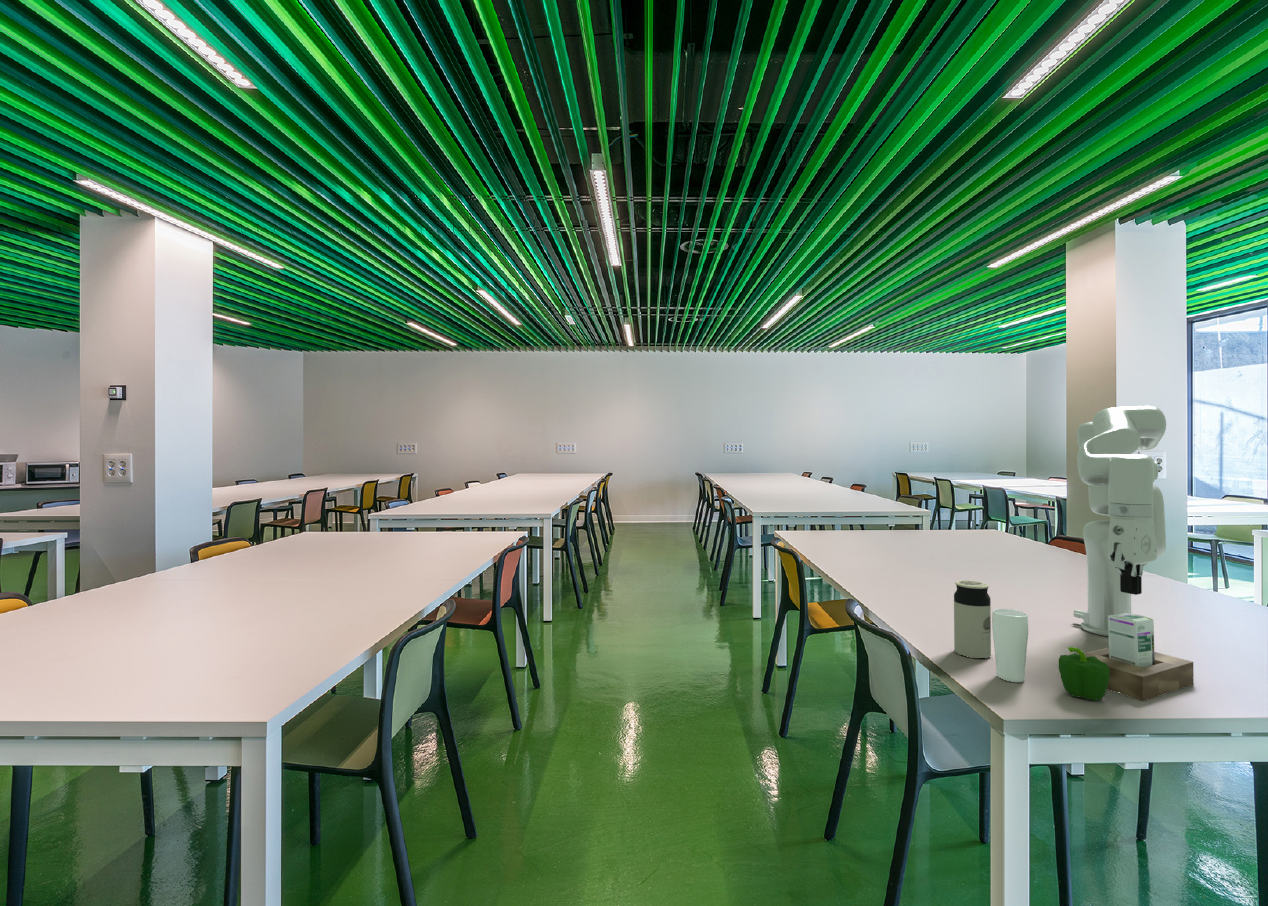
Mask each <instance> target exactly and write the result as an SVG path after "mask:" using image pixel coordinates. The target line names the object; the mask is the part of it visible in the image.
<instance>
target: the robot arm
mask: <svg viewBox="0 0 1268 906" xmlns="http://www.w3.org/2000/svg"><path fill="white" fill-rule="evenodd" d="M1166 430H1167V419H1166V416H1165V414H1164V412H1163V411H1162V410H1161V409H1160V408H1158V407H1156V406H1151V405H1144V406H1143V405H1137V406H1118V407H1117V406H1116V407H1108V408H1103V409H1101V410H1099V411H1097V413H1095V415H1093V417H1092V421H1089V422H1084V423H1082V424H1080V425H1079V426H1078V427H1077V429H1076V441H1077V446H1078V449H1079V450H1078V452H1077V457H1076V463H1077V472H1078V476H1079V478H1080V481H1082V483H1084V484H1085V485H1088V488H1087V489H1088V491H1087V492H1088V504H1089V505H1088V506H1089V508H1090V509H1089V510H1091V511H1092V512H1093V513H1094V514H1097V515H1101V516H1107V517H1108V518H1109V519H1102V520H1101V519H1100V520H1099V519H1097V520H1093V521H1092V520H1091V521H1089V522H1087V523H1086V524H1085V525H1084V527H1083V530H1082V535H1083V536H1082V537H1083V543H1084V547H1085V555H1086V565H1087V566H1086V567H1087V569H1086V572H1087V573H1086V574H1087V581H1086V582H1087V611H1084V610H1079V609H1074V611H1073V617H1074V618H1078V619H1082V620H1083V621H1082V622H1081V624H1080V628H1081V629H1083V630H1084V631H1087V632H1088V633H1092V634H1095V635H1100V636H1105V637H1108V616H1109V615H1116V614H1124V613H1129V614H1132V595H1135V596H1136V595H1141V594H1142V586H1143V585H1142V582H1143V581H1142V576H1143V572H1144V566H1146V565H1147V564H1148V563H1152V562H1155V561H1156V560H1157V557H1161V556H1162V555H1164V554H1165V552H1166V547H1167V536H1166V535H1167V534H1166V517H1165V514H1166V512H1165V499H1164V495H1163V493H1162V490H1161V489H1160V488H1159V486H1157V485H1155V484H1154V482H1155V481H1156V480H1158V477H1159V470H1160V469H1159V464H1158V462H1157V461H1155V459H1154V458H1153V457H1152V456H1150V455H1148V454H1147V455H1146V454H1138V453H1137V454H1135V452H1136V451H1148V450H1149V451H1151V450H1153V449H1154V448H1156V447H1157V446H1158V444H1159V443H1160V441H1161V439H1162V438H1163V437H1164V435H1165V433H1166Z"/></svg>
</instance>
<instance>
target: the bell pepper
mask: <svg viewBox="0 0 1268 906" xmlns="http://www.w3.org/2000/svg"><path fill="white" fill-rule="evenodd" d="M1067 649H1068V651H1069V653H1070V654H1067V655H1066V654H1060V656H1059V658H1058V665H1057V666H1058V672H1059V676H1060V679H1061V683H1062V685H1063V688H1064V690H1065V691H1066V693H1067V694H1069V696H1072V697H1077V698H1084V699H1087V700H1090V701H1100V700H1102V698H1103V697H1105V695H1106V692H1107V691H1108V690H1107V687H1108V683H1109V679H1110V669H1109V667H1108V665H1107V664H1106V663H1103V662H1101V661H1100V660H1099V659H1097V658H1096V657H1095V656H1089V657H1085V654H1084V653H1085V652H1084V651H1083V650H1081V649H1080V648H1078V647H1074V646H1069V647H1067ZM1075 652H1076V653H1075Z"/></svg>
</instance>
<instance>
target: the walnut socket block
mask: <svg viewBox="0 0 1268 906" xmlns="http://www.w3.org/2000/svg"><path fill="white" fill-rule="evenodd" d="M1154 653H1155V665H1153V666H1149V667H1146V668H1142V667H1139V666H1135V665H1132V664H1128V663H1125V662H1121V661H1118V660H1114V659H1110V658H1109V646H1107V647H1103V648H1099V649H1096V650H1091V651H1087V652H1084V654H1085V657H1089V656H1095V657H1096V658H1097V659H1099V660H1100V661H1101V662H1103V663H1106V664H1107V665H1108V667H1109V669H1110V679H1109V683H1108V687H1107V689H1109V690H1108V691H1110V690H1112V691H1111V692H1113V691H1115V692H1114V693H1116V692H1120V693H1121V694H1120V693H1119V694H1120V695H1123V694H1124V695H1123V696H1126V697H1129V696H1130V697H1129V698H1132V699H1134V700H1138V701H1142V702H1144V701H1147V700H1150V699H1153V698H1157V697H1160V696H1162V695H1166V694H1169V692H1170V693H1172V692H1174V691H1179V690H1181V689H1184V688H1185V689H1186V688H1187V686H1188V687H1190V686H1189V685H1191V686H1194V684H1195V683H1194V681H1195V680H1194V678H1195V677H1194V661H1191V660H1188V659H1184V658H1179V657H1176V656H1172V655H1169V654H1168V655H1167V654H1163V653H1160V652H1157V651H1154Z"/></svg>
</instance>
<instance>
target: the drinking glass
mask: <svg viewBox="0 0 1268 906" xmlns="http://www.w3.org/2000/svg"><path fill="white" fill-rule="evenodd" d="M991 615H992V617H991V618H992V621H991V623H992V624H991V630H992V636H993V637H992V638H993V648H994V656H995V665H996V666H995V668H996V669H995V671H996V676H997V678H999V679H1000V678H1001V680H1002V679H1003V680H1002V681H1005V680H1006V682H1009V681H1011V682H1010V683H1022V682H1024V681H1025V679H1026V662H1027V660H1026V659H1027V651H1028V650H1027V649H1028V642H1029V641H1028V640H1029V616H1028V613H1026V612H1023V611H1020V610H1016V609H1013V608H1012V609H1011V608H995V609H993V610H992V614H991Z"/></svg>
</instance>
